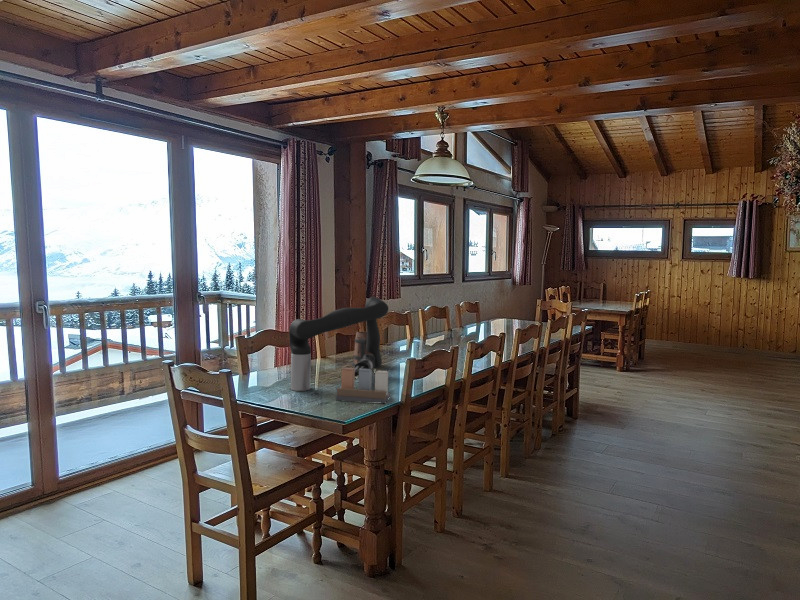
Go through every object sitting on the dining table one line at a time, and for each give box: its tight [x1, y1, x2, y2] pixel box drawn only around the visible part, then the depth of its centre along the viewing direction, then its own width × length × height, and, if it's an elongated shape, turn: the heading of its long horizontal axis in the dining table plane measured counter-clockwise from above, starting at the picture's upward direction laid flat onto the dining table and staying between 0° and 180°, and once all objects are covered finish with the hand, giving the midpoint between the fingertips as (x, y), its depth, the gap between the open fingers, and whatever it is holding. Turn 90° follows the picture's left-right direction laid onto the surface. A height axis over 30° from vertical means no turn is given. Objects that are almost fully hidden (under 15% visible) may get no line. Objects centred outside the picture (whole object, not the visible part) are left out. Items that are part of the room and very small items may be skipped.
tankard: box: [350, 331, 373, 366], centre depth 314 cm, size 24×17×20 cm
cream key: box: [374, 370, 389, 396], centre depth 242 cm, size 4×5×11 cm
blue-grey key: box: [358, 369, 373, 390], centre depth 245 cm, size 4×5×11 cm
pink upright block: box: [340, 367, 356, 389], centre depth 247 cm, size 4×5×11 cm
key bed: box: [335, 387, 391, 404], centre depth 244 cm, size 12×22×5 cm, turn 79°
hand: (354, 374), depth 258 cm, fingers closed
